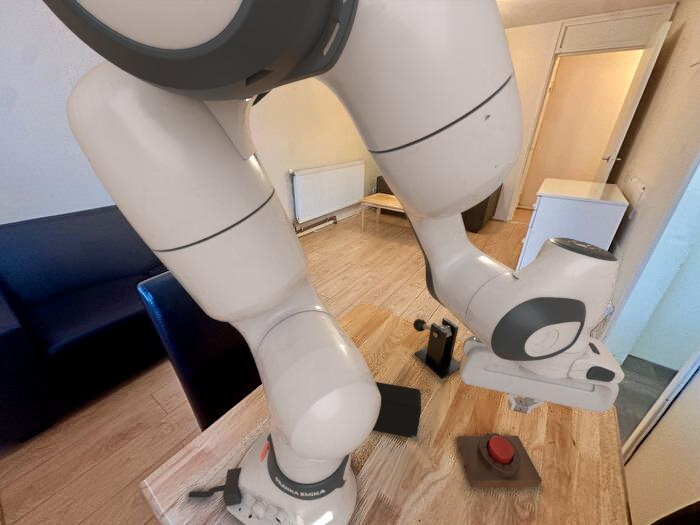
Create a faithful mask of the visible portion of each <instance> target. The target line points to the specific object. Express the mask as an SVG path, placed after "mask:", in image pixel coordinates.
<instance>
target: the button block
mask: <svg viewBox="0 0 700 525" xmlns="http://www.w3.org/2000/svg"><path fill="white" fill-rule="evenodd" d="M494 436H500V437H502V438H504V439H506V440H507V441H508V442H509V443H510V444H511V445H512V447H513V450H514V454H513V457H512V459H511V461H510V462H509V463H507V464H502V463H499V462H497V461H496V460H494V459H493V458H492V457H491V455H490V454H489V452H488V444H489V441H490V439H491V438H492V437H494ZM457 443H458V447H459V449H460V452H461V456H462V459H463V461H464V464H465V465H464V468H465V471H466V475H467V477H468V480H469V481H468V482H469V484H470V487H471V488H472V489H475V488H477V489H478V488H479V489H481V488H482V489H484V488H486V489H487V488H495V489H496V488H539V487H540V485H541V484H542V482H543V480H542V478H541V476H540V474H539V472H538V470H537V469H536V466H535V465H534V463H533V461H532V459H531V458H530V455H529V454H528V452H527V449H526V448H525V447H524V444H523V443H522V441H521V438H520V436H519V435H502V434H499V433H498V432H486V433H484V434H483V435H458V436H457Z"/></svg>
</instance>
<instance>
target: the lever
mask: <svg viewBox="0 0 700 525" xmlns="http://www.w3.org/2000/svg"><path fill="white" fill-rule="evenodd" d="M412 326H413V328H414V330H415V331H416V332H419V333H421V332H424V331H425V330H427V331H430V329H431V324H428V323H427V322H426V321H425V320H424V319H423V318H416V319H415V320H414V321H413V323H412ZM438 326H439V327H441V328H442V329H443V330H445V331H446V332H447V336H446V338H447V337H449V336H451V335H452V333H451V328H450V326H448V325H443V324H442V323H441V324H439V325H438Z"/></svg>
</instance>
